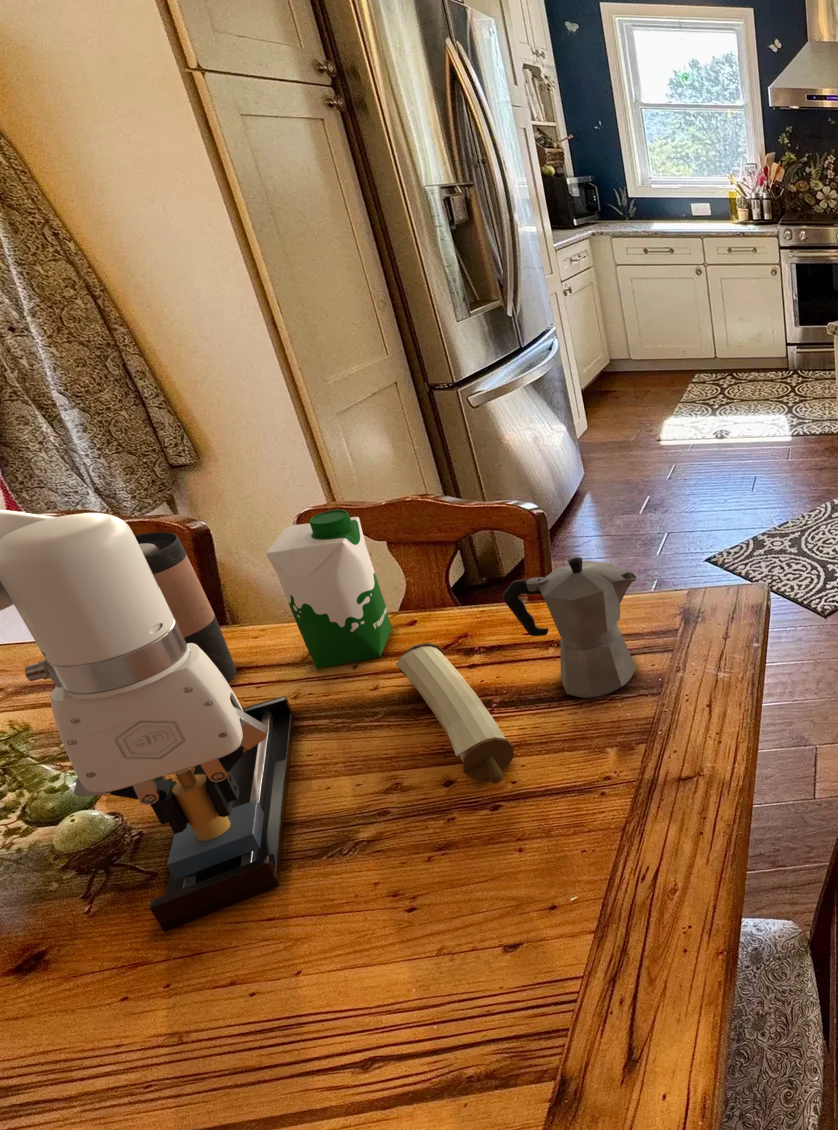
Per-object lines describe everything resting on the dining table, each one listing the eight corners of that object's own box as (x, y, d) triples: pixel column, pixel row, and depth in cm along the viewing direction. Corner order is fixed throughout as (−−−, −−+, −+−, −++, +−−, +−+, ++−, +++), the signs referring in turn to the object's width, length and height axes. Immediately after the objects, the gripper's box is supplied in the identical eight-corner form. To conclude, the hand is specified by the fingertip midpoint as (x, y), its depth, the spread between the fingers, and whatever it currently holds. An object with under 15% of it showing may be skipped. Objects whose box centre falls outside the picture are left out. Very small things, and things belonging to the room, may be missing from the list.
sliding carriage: (175, 880, 70) (131, 803, 66) (183, 842, 74) (142, 767, 70) (260, 848, 73) (223, 774, 69) (264, 813, 77) (229, 741, 73)
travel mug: (249, 678, 99) (189, 543, 90) (170, 711, 93) (98, 570, 84) (226, 656, 102) (167, 525, 94) (149, 688, 96) (78, 550, 88)
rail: (163, 932, 68) (148, 908, 67) (206, 742, 88) (195, 721, 87) (279, 886, 72) (267, 863, 71) (294, 715, 93) (285, 695, 91)
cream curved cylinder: (531, 782, 85) (521, 748, 82) (475, 811, 81) (463, 776, 79) (442, 653, 104) (433, 622, 102) (394, 671, 101) (383, 640, 99)
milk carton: (387, 659, 103) (341, 529, 94) (304, 675, 99) (249, 541, 91) (401, 623, 110) (360, 499, 102) (324, 637, 107) (275, 510, 98)
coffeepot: (656, 648, 107) (637, 535, 99) (648, 692, 98) (626, 572, 91) (535, 662, 103) (506, 546, 96) (516, 709, 95) (483, 586, 87)
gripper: (-40, 719, 57) (71, 887, 65) (244, 646, 66) (313, 802, 74) (-6, 666, 63) (93, 827, 70) (252, 605, 71) (315, 754, 79)
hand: (205, 813), depth 72 cm, fingers closed on sliding carriage, 2 cm apart
